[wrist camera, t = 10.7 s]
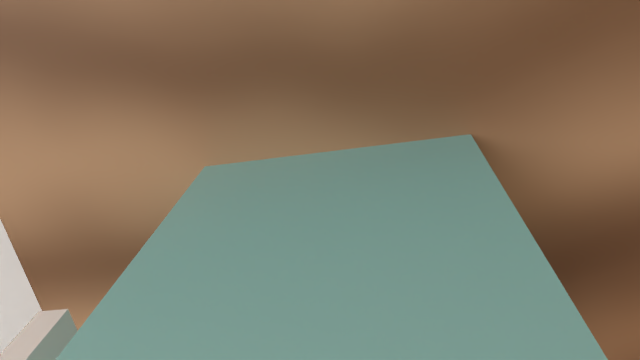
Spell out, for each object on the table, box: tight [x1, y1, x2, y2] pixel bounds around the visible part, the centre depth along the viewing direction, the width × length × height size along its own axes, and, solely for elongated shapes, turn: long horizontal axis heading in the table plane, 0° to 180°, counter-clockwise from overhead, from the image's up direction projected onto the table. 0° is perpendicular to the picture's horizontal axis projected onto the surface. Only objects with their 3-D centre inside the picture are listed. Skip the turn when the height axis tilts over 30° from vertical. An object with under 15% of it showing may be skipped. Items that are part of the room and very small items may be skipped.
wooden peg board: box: [0, 0, 640, 360], centre depth 13 cm, size 20×20×7 cm
